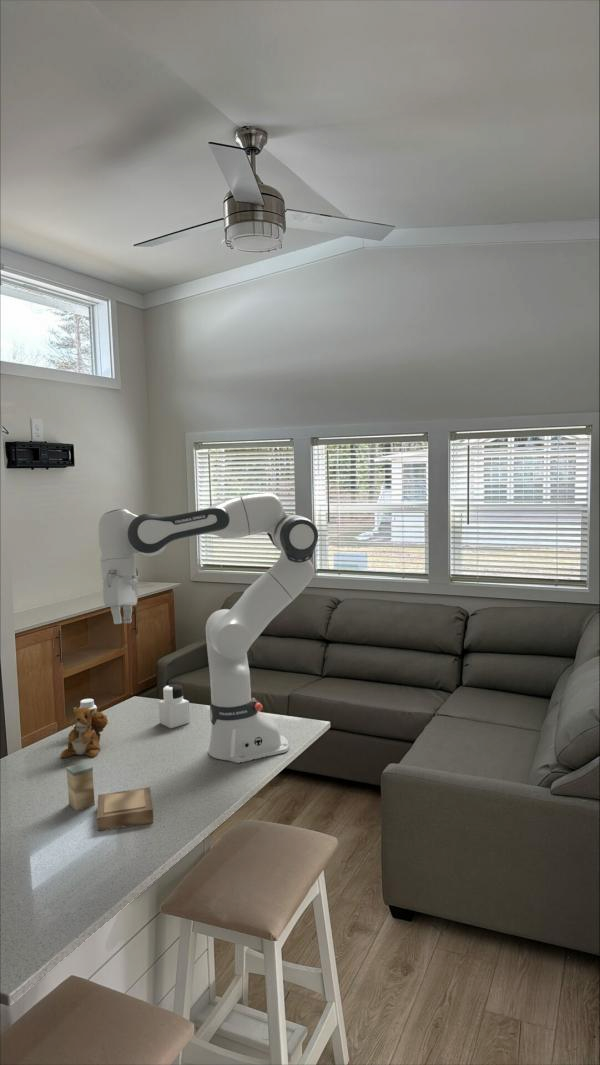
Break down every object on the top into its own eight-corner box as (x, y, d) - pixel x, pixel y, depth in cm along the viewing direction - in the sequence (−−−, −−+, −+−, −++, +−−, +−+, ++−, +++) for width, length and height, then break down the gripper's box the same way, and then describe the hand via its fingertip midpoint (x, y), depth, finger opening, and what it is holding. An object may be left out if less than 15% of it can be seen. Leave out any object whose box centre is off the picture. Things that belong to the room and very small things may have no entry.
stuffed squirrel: (58, 759, 198) (55, 713, 197) (82, 740, 211) (79, 697, 210) (91, 760, 196) (88, 713, 195) (114, 741, 210) (111, 697, 209)
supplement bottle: (98, 734, 215) (96, 702, 214) (79, 737, 214) (76, 704, 213) (98, 728, 221) (96, 696, 220) (80, 731, 219) (77, 698, 218)
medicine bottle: (179, 717, 228) (177, 681, 227) (190, 723, 222) (188, 685, 221) (159, 723, 223) (157, 686, 222) (170, 728, 218) (168, 690, 217)
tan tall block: (87, 798, 172) (84, 761, 171) (95, 804, 169) (92, 767, 168) (68, 804, 169) (66, 767, 168) (76, 810, 166) (73, 773, 165)
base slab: (150, 799, 170) (149, 786, 170) (153, 822, 158) (152, 808, 158) (99, 807, 167) (98, 793, 167) (97, 831, 155) (96, 816, 155)
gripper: (119, 567, 176) (124, 623, 175) (139, 571, 197) (144, 621, 195) (94, 570, 176) (99, 625, 175) (117, 574, 197) (121, 623, 195)
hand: (123, 623), depth 185 cm, fingers open, 8 cm apart
